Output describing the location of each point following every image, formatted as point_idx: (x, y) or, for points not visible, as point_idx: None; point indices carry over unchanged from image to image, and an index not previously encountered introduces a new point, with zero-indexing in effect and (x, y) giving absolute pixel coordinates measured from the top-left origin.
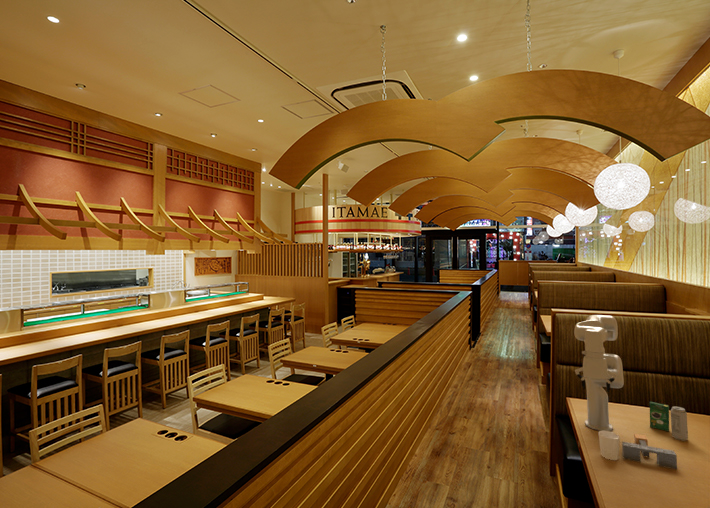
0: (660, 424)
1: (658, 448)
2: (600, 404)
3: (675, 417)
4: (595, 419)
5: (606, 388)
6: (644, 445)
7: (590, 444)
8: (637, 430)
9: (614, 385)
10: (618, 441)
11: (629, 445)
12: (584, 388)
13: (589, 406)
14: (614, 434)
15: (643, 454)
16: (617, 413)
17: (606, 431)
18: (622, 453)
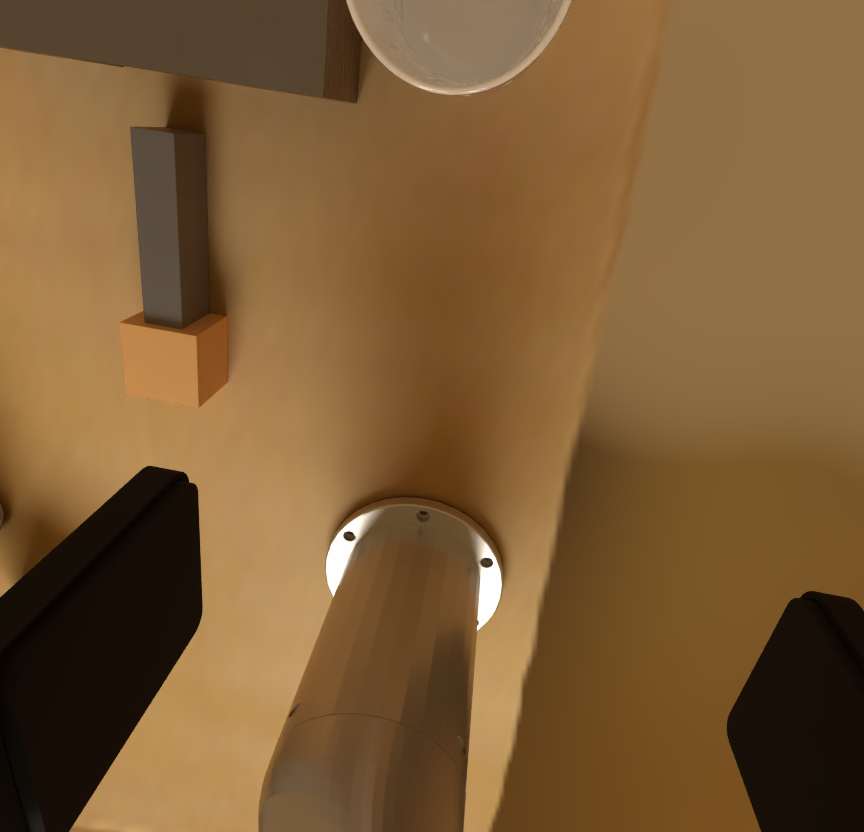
0: None
1: (26, 39)
2: (366, 674)
3: None
4: (437, 571)
5: (177, 627)
6: (155, 215)
7: (571, 231)
8: None
9: None
10: None
11: (269, 7)
12: (832, 595)
13: (463, 678)
14: (379, 44)
15: (197, 134)
16: (258, 755)
17: (455, 87)
18: (354, 99)
